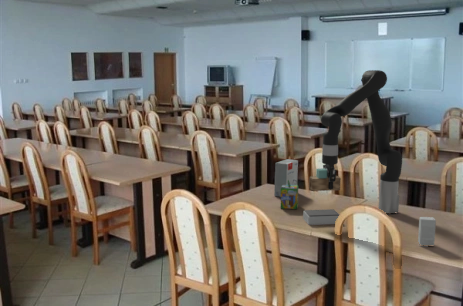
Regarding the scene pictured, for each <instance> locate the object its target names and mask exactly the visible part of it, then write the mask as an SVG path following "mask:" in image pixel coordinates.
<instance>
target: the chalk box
mask: <svg viewBox="0 0 463 306" xmlns="http://www.w3.org/2000/svg"><path fill="white" fill-rule="evenodd" d="M298 207H299V185H298V184H297V185H290V183H289V180H288V185H282V187H281V197H280V209H281V210H284V209H285V210H288V209H289V210H298Z"/></svg>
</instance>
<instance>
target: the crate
mask: <svg viewBox="0 0 463 306" xmlns="http://www.w3.org/2000/svg"><path fill="white" fill-rule="evenodd" d="M315 171H316V172H315V176H316V177H317V178H327V170H326V169H324V168H323V167H322V168H316V170H315Z"/></svg>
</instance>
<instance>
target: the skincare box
mask: <svg viewBox="0 0 463 306" xmlns="http://www.w3.org/2000/svg"><path fill="white" fill-rule="evenodd" d="M418 218H419V221H418V235H417V236H418V238H417V243H418V242H419V244H421V245H434V246H435V240H436V238H435V237H436V224H437V220H436V219H435V217H433V216H430V217H429V216H419V217H418ZM419 244H418V245H419Z"/></svg>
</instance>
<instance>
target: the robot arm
mask: <svg viewBox="0 0 463 306" xmlns="http://www.w3.org/2000/svg"><path fill="white" fill-rule="evenodd" d="M387 81H388V76H387V74H386V72H385V71H383V70H378V69H377V70H374V69H372V70H371V69H370V70H365V71H364V72H363V74H362V77H361V84H362V86H361V87H359V88H358V89H355V91H353V92H351V93H349V94H347V95H346V96H345V97H344V98H342V100H340V101H339V102H338V103H337V104H335V105H334V106H332V107H331V108H328V109H327V110H325V112H324V113H323V114H322V115H321V118H320V123H321V124H322V125H323V126H324V127H328V131H325V132H324V133H323V136H322V137H323V138H322V153H321V163H322V164H323V165H322V168H324V169H326V170H327V177H328V178H329V179H328V181H329V184H328V189H333V182H334V181H335V180H336V176H337V172H338V171H337V169H335V165H337V164H338V162H339V135H340V133H341V132H340V131H341V129H342V123H343V120H342V118H343V117H345V116H348V115H349V114H350V113H351V112H352V111H353V110H354V109H355V108H357V106H359V105H360V104H361V103H363V102H364V101H365V100H366V101H367V104H368V108H369V113H370V117H371V118H370V119H371V122H372V123H371V124H372V127H373V132H374V136H375V137H374V138H375V142H376V148H377V149H376V152H377V158H378V162H379V163H380V165H382V166H384V167H385V172H383V173H380V177H379V194H378V195H379V196H378V208H379V209H381V210H383V211H384V212H386V213H395V212H398V213H399V209H400V208H399V207H400V206H399V205H400V195H399V181H400V178H401V174H402V166H403V155H402V153H401V152H400V151H398V150H396V149H392V147H391V143H390V134H391V129H392V126H393V125H392V124H393V123H392V117H391V113H390V110H389V108H388V107H387V106H386V104H385V102H384V101H383V99H382V98H381V95H380V93H379V92H380V90H382V88H383V87H384V86H386V85H387Z"/></svg>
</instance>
